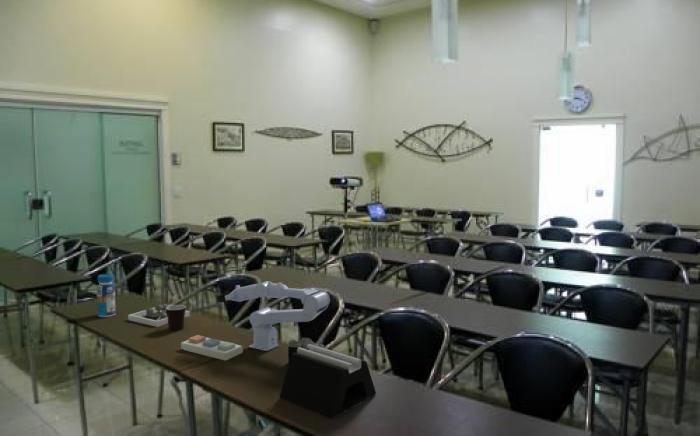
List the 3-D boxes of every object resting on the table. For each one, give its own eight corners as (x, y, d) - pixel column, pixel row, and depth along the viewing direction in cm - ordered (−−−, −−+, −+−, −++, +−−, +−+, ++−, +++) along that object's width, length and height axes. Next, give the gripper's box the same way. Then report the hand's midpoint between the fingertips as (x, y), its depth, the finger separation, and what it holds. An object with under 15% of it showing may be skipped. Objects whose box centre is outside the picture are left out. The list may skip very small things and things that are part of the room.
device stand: (325, 378, 197) (325, 337, 195) (375, 395, 183) (376, 352, 181) (279, 398, 180) (279, 354, 178) (331, 420, 165) (331, 372, 164)
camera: (328, 362, 211) (328, 337, 209) (323, 369, 204) (323, 343, 203) (292, 358, 215) (292, 334, 213) (286, 365, 208) (285, 339, 207)
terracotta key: (205, 341, 227) (205, 336, 227) (197, 344, 223) (197, 340, 222) (197, 339, 229) (197, 334, 229) (188, 342, 225) (188, 338, 225)
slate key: (220, 345, 223) (220, 340, 223) (211, 348, 219) (211, 343, 218) (211, 342, 225) (211, 338, 225) (202, 346, 221) (202, 341, 221)
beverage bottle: (97, 313, 273) (95, 274, 271) (115, 311, 276) (114, 272, 274) (97, 318, 265) (95, 277, 263) (116, 316, 269) (114, 276, 267)
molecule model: (148, 332, 267) (147, 325, 258) (140, 317, 269) (139, 309, 260) (177, 318, 274) (177, 310, 265) (169, 303, 277) (169, 295, 268)
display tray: (189, 316, 270) (189, 311, 270) (157, 326, 253) (156, 321, 253) (161, 310, 280) (161, 305, 280) (128, 320, 263) (128, 315, 262)
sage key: (235, 348, 219) (235, 343, 219) (226, 352, 215) (226, 347, 214) (226, 346, 221) (226, 341, 221) (217, 350, 217) (217, 345, 217)
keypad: (242, 352, 220) (242, 345, 220) (225, 360, 212) (225, 353, 212) (199, 342, 232) (199, 335, 232) (181, 349, 224) (181, 342, 224)
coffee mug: (182, 331, 246) (182, 310, 245) (163, 331, 246) (163, 309, 245) (190, 324, 257) (190, 303, 256) (172, 323, 258) (171, 303, 256)
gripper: (256, 280, 236) (233, 285, 242) (234, 286, 223) (210, 291, 229) (260, 296, 235) (236, 301, 242) (238, 303, 222) (213, 307, 229)
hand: (223, 297), depth 235 cm, fingers open, 7 cm apart
